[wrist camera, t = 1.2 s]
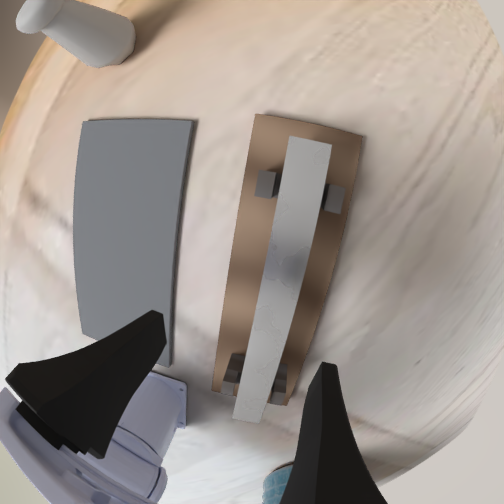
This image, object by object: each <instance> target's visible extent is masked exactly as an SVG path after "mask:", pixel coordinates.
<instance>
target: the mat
mask: <svg viewBox="0 0 504 504" xmlns="http://www.w3.org/2000/svg"><path fill="white" fill-rule="evenodd" d="M193 126H194V122H193V121H185V120H162V119H118V120H96V121H83V123H82V129H81V135H80V141H79V148H78V156H77V165H76V175H75V187H74V207H73V249H74V268H75V281H76V291H77V300H78V308H79V315H80V321H81V328H82V333H83V334H84V335H86V336H89V337H91V338H93V339H95V340H98V341H99V340H101V339H103V338H105V337H107V336H108V335H110V334H112V333H114V332H115V331H117V330H119V329H121V328H122V327H124V326H126V325H127V324H129V323H131V322H132V321H134V320H135V319H137V318H139V317H140V316H142V315H144V314H145V313H147V312H149V311H150V310H155V311H157V312H160V313H162V314H163V317H164V324H165V332H166V338H167V344H166V346H165V348H164V350H163V352H162V354H161V356H160V357H159V359H158V361H157V362H156V364H159V365H162V366H165V367H168V368H169V367H170V365H171V329H172V304H173V286H174V272H175V259H176V248H177V237H178V228H179V219H180V210H181V202H182V195H183V187H184V180H185V174H186V167H187V161H188V155H189V149H190V143H191V137H192V132H193Z"/></svg>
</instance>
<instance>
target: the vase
mask: <svg viewBox="0 0 504 504" xmlns="http://www.w3.org/2000/svg"><path fill="white" fill-rule="evenodd" d="M292 466H293V464H291V465H288V466H285V467H283V468H280V469H278V470H276V471H274V472H272V473H270V474H269V475H268V476H267V477H266V478H265V480H264V483H263V490H264V493H263V496H262V499H263V502H262V504H279V503H280V501H281V498H282V495H283V493H284V490H285V487H286V485H287V482H288V479H289V476H290V473H291V470H292Z"/></svg>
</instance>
